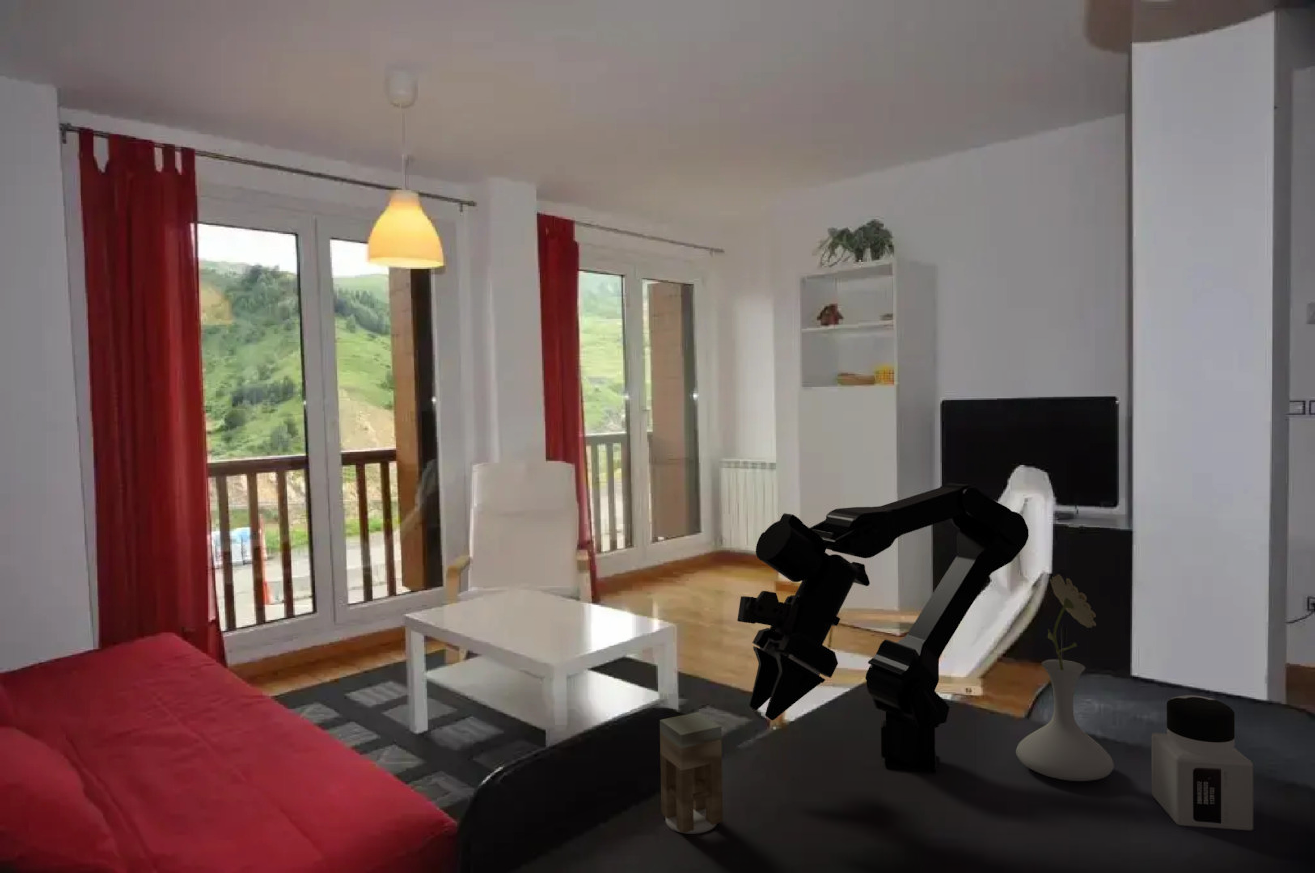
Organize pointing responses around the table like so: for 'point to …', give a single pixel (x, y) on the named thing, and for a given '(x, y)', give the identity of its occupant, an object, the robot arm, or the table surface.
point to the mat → (699, 823)
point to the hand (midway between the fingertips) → (760, 713)
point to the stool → (691, 769)
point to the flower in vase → (1065, 710)
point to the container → (1202, 766)
